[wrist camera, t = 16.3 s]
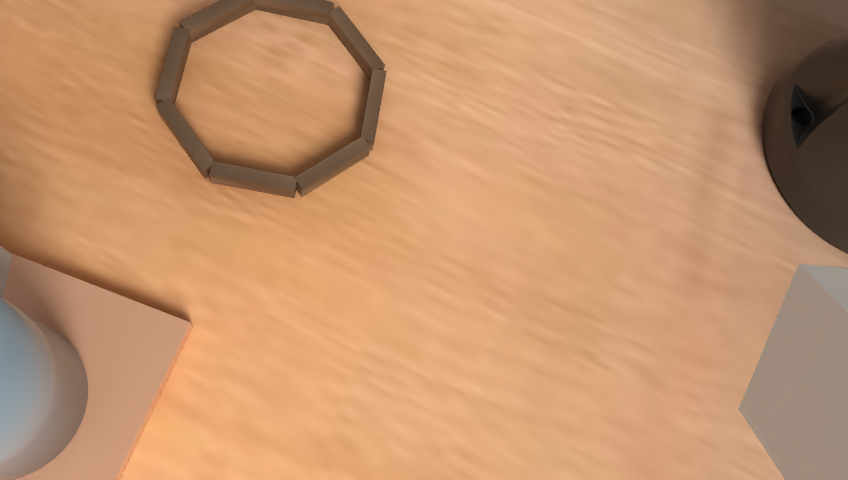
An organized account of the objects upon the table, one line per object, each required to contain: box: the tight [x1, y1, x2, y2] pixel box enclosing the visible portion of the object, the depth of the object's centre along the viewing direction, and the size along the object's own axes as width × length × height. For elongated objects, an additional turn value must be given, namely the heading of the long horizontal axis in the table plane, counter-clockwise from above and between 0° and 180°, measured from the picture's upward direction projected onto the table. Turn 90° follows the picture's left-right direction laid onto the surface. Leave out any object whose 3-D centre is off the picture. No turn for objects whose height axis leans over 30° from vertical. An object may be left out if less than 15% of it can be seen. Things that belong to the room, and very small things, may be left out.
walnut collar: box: [155, 0, 386, 198], centre depth 43 cm, size 12×12×1 cm
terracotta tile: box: [3, 252, 193, 480], centre depth 36 cm, size 13×13×1 cm
